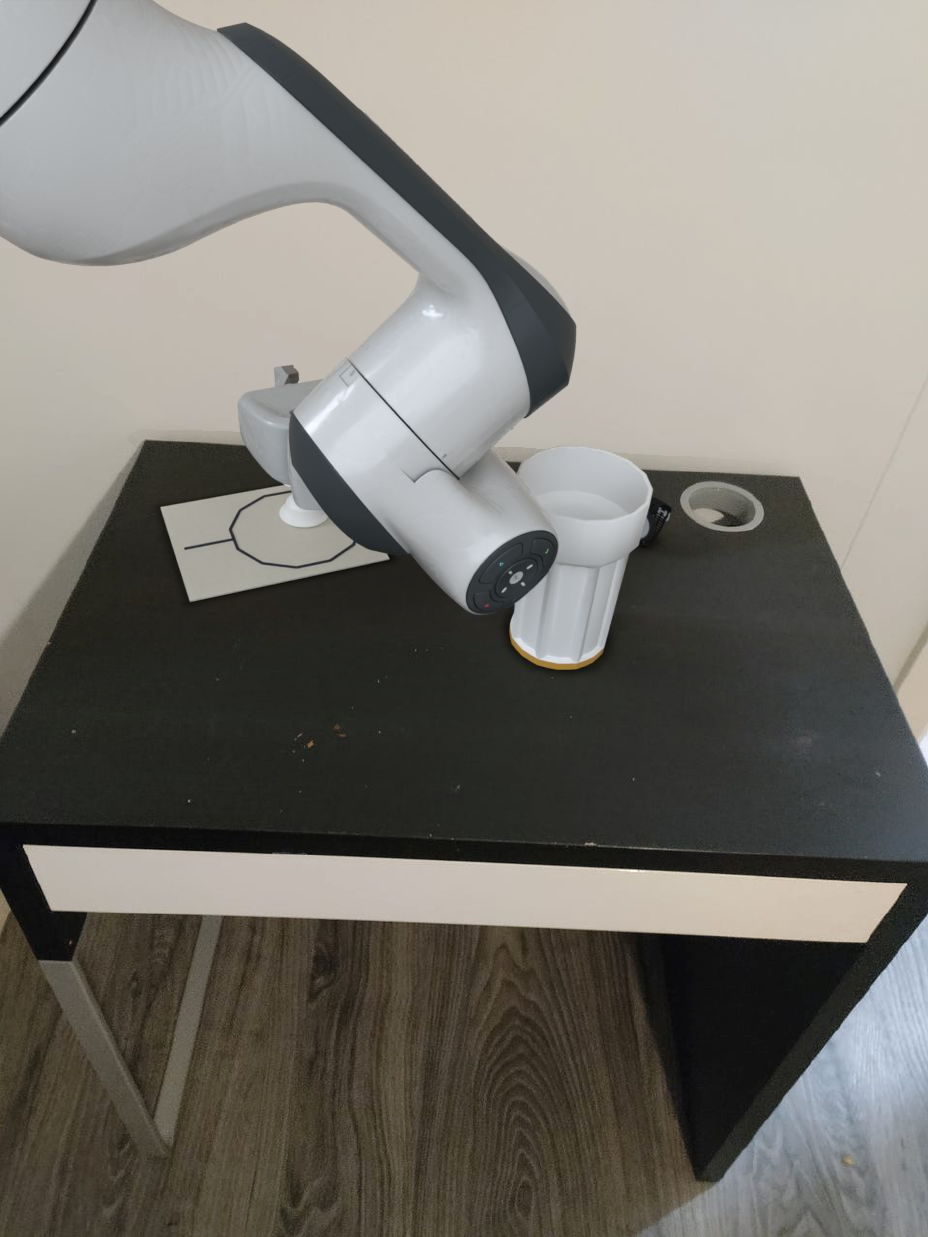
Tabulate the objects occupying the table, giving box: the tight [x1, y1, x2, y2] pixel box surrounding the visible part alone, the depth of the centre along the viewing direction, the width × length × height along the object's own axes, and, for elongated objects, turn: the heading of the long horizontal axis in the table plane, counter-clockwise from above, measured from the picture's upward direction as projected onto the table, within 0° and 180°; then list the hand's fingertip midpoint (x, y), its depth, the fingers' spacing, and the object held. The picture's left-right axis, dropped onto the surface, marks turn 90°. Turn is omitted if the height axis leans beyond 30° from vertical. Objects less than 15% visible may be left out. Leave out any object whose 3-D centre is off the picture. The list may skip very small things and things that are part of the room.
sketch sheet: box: [160, 484, 390, 603], centre depth 97 cm, size 20×16×1 cm
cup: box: [509, 445, 654, 671], centre depth 82 cm, size 11×11×17 cm
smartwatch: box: [638, 496, 673, 547], centre depth 98 cm, size 4×5×5 cm
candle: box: [279, 483, 328, 528], centre depth 95 cm, size 5×5×12 cm
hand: (338, 364), depth 76 cm, fingers open, 8 cm apart
